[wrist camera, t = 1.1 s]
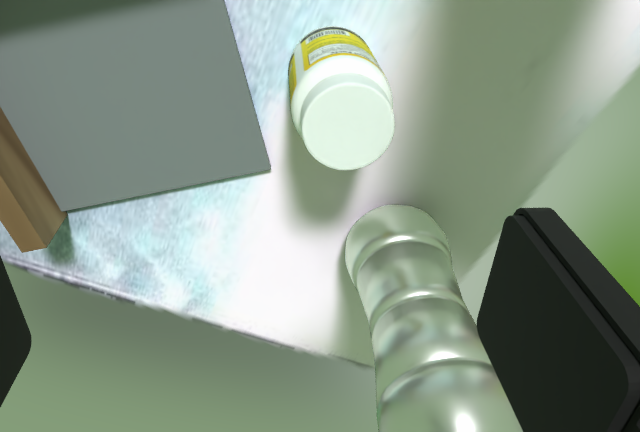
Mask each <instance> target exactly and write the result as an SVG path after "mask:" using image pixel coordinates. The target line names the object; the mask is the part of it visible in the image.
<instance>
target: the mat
mask: <svg viewBox="0 0 640 432" xmlns="http://www.w3.org/2000/svg"><path fill="white" fill-rule="evenodd" d="M0 107H1V109H2V110H3V112H4V114H5V116H6V117H7V119H8V121H9V122H10V124H11V126H12V128H13V129H14V131H15V133H16V134H17V136H18V138H19V140H20V141H21V143H22V145H23V146H24V148H25V150H26V152H27V153H28V155H29V157H30V158H31V160H32V162H33V164H34V165H35V167H36V169H37V170H38V172H39V174H40V175H41V177H42V179H43V181H44V182H45V184H46V186H47V187H48V189H49V191H50V193H51V194H52V196H53V198H54V199H55V201H56V203H57V205H58V206H59V208H60V210H61V211H62V212H63V211H68V210H73V209H77V208H82V207H87V206H92V205H97V204H102V203H107V202H112V201H117V200H122V199H127V198H132V197H137V196H142V195H147V194H152V193H157V192H162V191H167V190H172V189H177V188H182V187H186V186H191V185H196V184H201V183H206V182H211V181H216V180H221V179H226V178H231V177H236V176H241V175H246V174H251V173H256V172H261V171H266V170H271V165H270V162H269V158H268V155H267V151H266V147H265V144H264V140H263V137H262V133H261V130H260V126H259V122H258V119H257V115H256V112H255V108H254V105H253V101H252V98H251V94H250V90H249V87H248V83H247V80H246V76H245V73H244V69H243V65H242V62H241V58H240V55H239V51H238V48H237V44H236V40H235V37H234V33H233V30H232V26H231V23H230V19H229V16H228V12H227V8H226V5H225V1H224V0H0Z"/></svg>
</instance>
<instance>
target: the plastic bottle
mask: <svg viewBox="0 0 640 432" xmlns="http://www.w3.org/2000/svg"><path fill="white" fill-rule="evenodd" d="M345 263H346V266H347V269H348V272H349V275H350V277H351V280H352V282H353V284H354V286H355V288H356V289H357V291H358V293H359V295H360V298H361V301H362V304H363V307H364V310H365V313H366V316H367V319H368V322H369V326H370V333H371V338H372V347H373V354H374V361H375V373H376V402H377V421H378V428H379V429H378V430H379V432H523V430H522V428H521V426H520V424H519V422H518V420H517V418H516V415H515V413H514V411H513V409H512V407H511V405H510V403H509V400H508V398H507V396H506V394H505V392H504V390H503V388H502V385H501V383H500V381H499V379H498V377H497V375H496V373H495V370H494V368H493V366H492V364H491V362H490V360H489V358H488V355H487V353H486V351H485V349H484V347H483V345H482V343H481V340H480V338H479V335H478V331H477V326H476V324H475V322H474V320H473V318H472V316H471V315H470V314H469V311H468V309H467V307H466V305H465V303H464V301H463V299H462V296H461V293H460V290H459V287H458V283H457V280H456V277H455V274H454V271H453V268H452V260H451V253H450V249H449V245H448V241H447V238H446V236H445V234H444V232H443V231H442V229H441V228H440V227H439V226H438V224H437V223H436V222H435V221H434V220H433V219H432V217H431V216H430V215H428V214H427V213H426V212H424V211H422V210H420V209H418V208H416V207H412V206H408V205H397V204H394V205H385V206H381V207H378V208H376V209H373V210H371V211H370V212H368V213H366V214H365V215H364V216H362V217H361V218H360V219H359V220H358V221H357V222H356V223H355V224H354V225H353V227H352V228H351V230H350V232H349V234H348V237H347V241H346V251H345Z"/></svg>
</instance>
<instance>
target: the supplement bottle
mask: <svg viewBox="0 0 640 432" xmlns="http://www.w3.org/2000/svg"><path fill="white" fill-rule="evenodd" d="M288 76H289V88H290V103H291V115H292V120H293V123H294V126H295V128H296V130H297V132H298V133H299V135H300V136H301V138H302V139H303V141H304V144H305V146H306V148H307V150H308V151H309V153H310V154H311V155H312V156H313V157H314V158H315V159H316V160H317V161H318V162H320V163H321V164H323V165H325V166H327V167H329V168H333V169H337V170H355V169H359V168H362V167H365V166H367V165H369V164H371V163H372V162H374V161H375V160H377V159H378V158H379V157H380V156H381V155H382V154H383V153H384V152H385V151H386V149H387V148H388V146H389V144H390V142H391V140H392V138H393V134H394V128H395V119H394V113H393V110H392V109H393V98H392V92H391V88H390V85H389V83H388V81H387V79H386V77H385V75H384V73H383V72H382V70H381V68H380V66H379V65H378V63H377V61H376V59H375V58H374V56H373V54H372V52H371V51H370V49H369V47H368V46H367V44H366V43H365V42H364V40H363V39H362V38H361V37H360V36H359V35H357V34H356V33H354V32H353V31H351V30H349V29H346V28H343V27H338V26H326V27H321V28H318V29H315V30H313V31H311V32H310V33H308V34H307V35H305V36H304V37H303V38H302V39H301V40H300V41H299V43H298V44H297V45H296V47H295V48H294V50H293V52H292V55H291V58H290V61H289V68H288Z"/></svg>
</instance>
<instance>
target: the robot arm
mask: <svg viewBox="0 0 640 432" xmlns="http://www.w3.org/2000/svg"><path fill="white" fill-rule="evenodd" d="M477 331H478V335H479V338H480V340H481V343H482V345H483V347H484V349H485V351H486V353H487V355H488V358H489V360H490V362H491V364H492V366H493V368H494V370H495V373H496V375H497V377H498V379H499V381H500V383H501V385H502V388H503V390H504V392H505V394H506V396H507V398H508V400H509V403H510V405H511V407H512V409H513V411H514V413H515V415H516V418H517V420H518V422H519V424H520V426H521V428H522V430H523V432H640V307H639V305H638V304H637V303H636V302H635V301H634V300H633V299H632V298H631V296H630V295H629V294H628V293H627V292H626V291H625V290H624V289H623V287H622V286H621V285H620V284H619V283H618V282H617V281H616V280H615V278H613V276H612V275H611V274H610V273H609V272H608V271H607V270H606V268H605V267H604V266H603V265H602V264H601V263H600V262H599V261H598V259H597V258H596V257H595V256H594V255H593V254H592V253H591V252H590V250H589V249H588V248H587V247H586V246H585V245H584V244H583V243H582V241H581V240H580V239H579V238H578V237H577V236H576V235H575V234H574V232H573V231H572V230H571V229H570V228H569V227H568V226H567V225H566V223H565V222H564V221H563V220H562V219H561V218H560V217H559V216H558V215H557V213H556V212H555V211H554V210H552V209H551V208H519V209H517V210H516V212H515V213H514V215H513V216H508V217H507V218H506V220H505V222H504V225H503V229H502V232H501V236H500V239H499V243H498V247H497V250H496V254H495V257H494V261H493V265H492V268H491V272H490V275H489V279H488V282H487V286H486V290H485V293H484V297H483V300H482V304H481V308H480V311H479V314H478V318H477ZM30 348H31V334H30V331H29V328H28V326H27V323H26V320H25V318H24V316H23V313H22V310H21V308H20V305H19V302H18V300H17V297H16V295H15V292H14V290H13V287H12V284H11V282H10V279H9V277H8V274H7V272H6V269H5V266H4V264H3V261H2V259H1V256H0V407H1V405H2V403H3V401H4V399H5V397H6V395H7V394H8V392H9V390H10V388H11V386H12V384H13V382H14V380H15V379H16V377H17V374H18V373H19V371H20V369H21V367H22V365H23V363H24V362H25V360H26V358H27V356H28V354H29V351H30Z"/></svg>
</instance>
